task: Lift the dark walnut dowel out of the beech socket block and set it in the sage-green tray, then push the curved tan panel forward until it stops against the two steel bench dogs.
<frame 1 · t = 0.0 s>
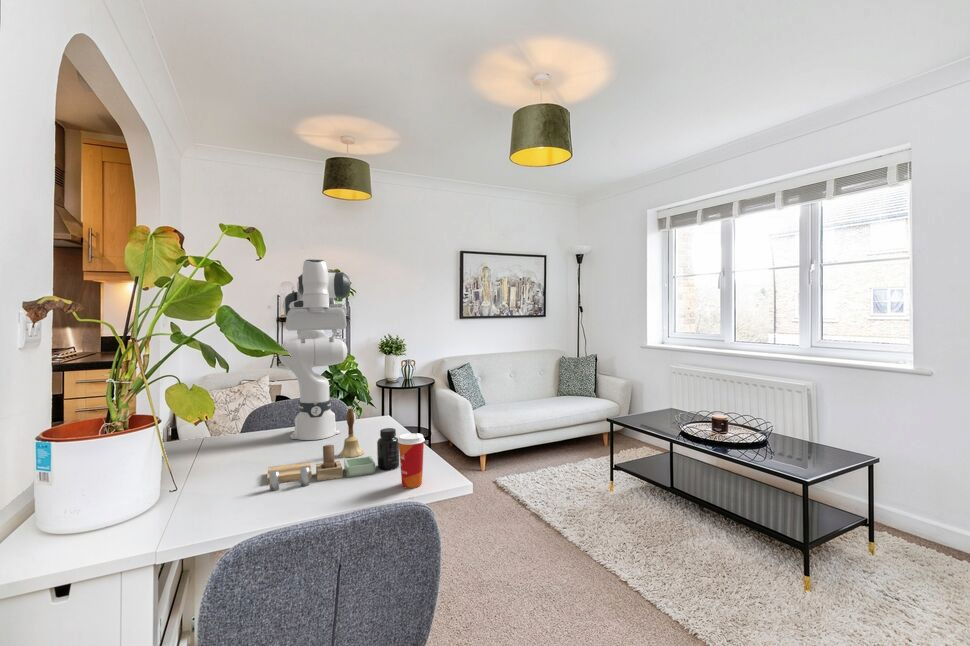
hand: (317, 342, 163), 39 cm above the table, tool pointing down, fingers open, 8 cm apart
tray: (359, 471, 144), on the table
dowel: (328, 460, 140), in the socket block
curved tan panel: (289, 477, 140), on the table
hand bell: (351, 454, 161), on the table
bench dogs: (289, 487, 131), on the table
socket block: (329, 475, 140), on the table
supplement bottle: (388, 467, 147), on the table
paper cup: (411, 485, 132), on the table
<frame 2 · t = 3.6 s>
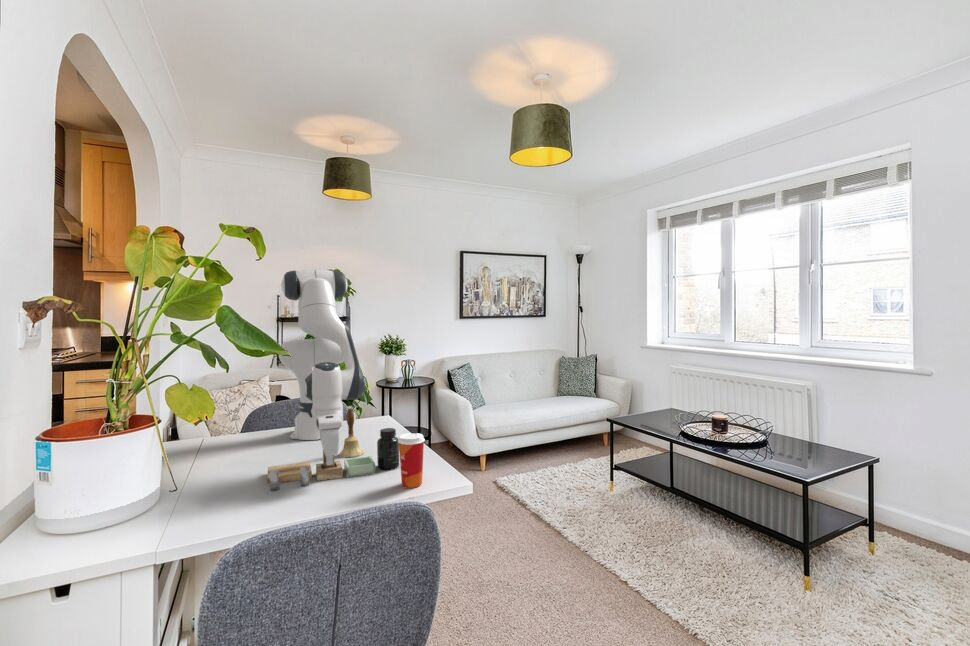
hand: (328, 462, 140), 4 cm above the table, tool pointing down, fingers closed on dowel, 3 cm apart
dowel: (328, 460, 140), in the socket block, touching gripper
everything else where it was.
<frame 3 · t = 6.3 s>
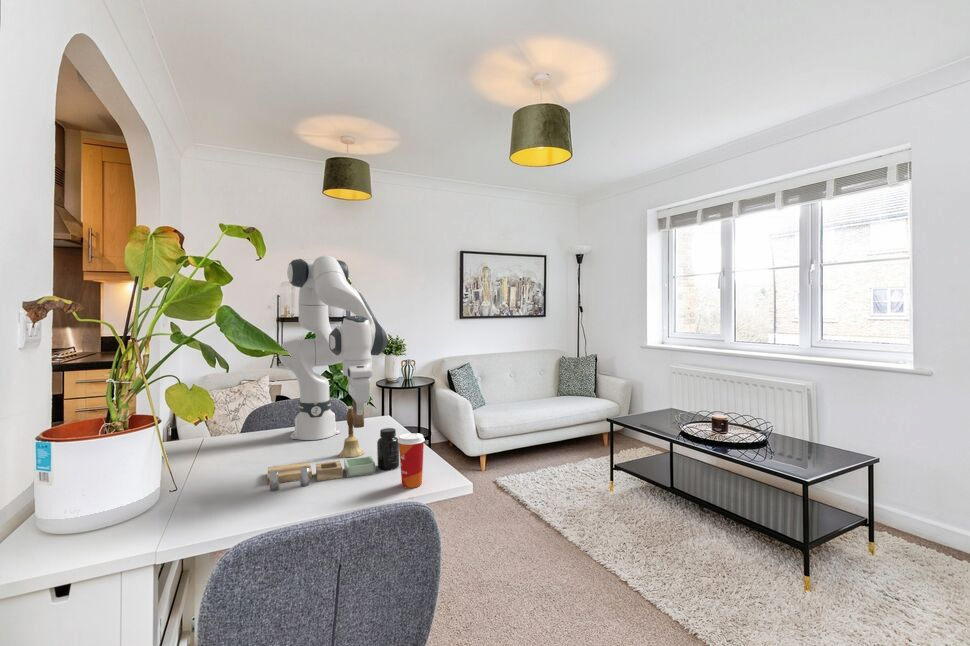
hand: (358, 413, 143), 18 cm above the table, tool pointing down, fingers closed on dowel, 3 cm apart
dowel: (358, 412, 143), point 18 cm above the table, touching gripper
everything else where it was.
when the fingers open (6 cm above the table, at t = 8.7 s): dowel stays where it is, resting on tray.
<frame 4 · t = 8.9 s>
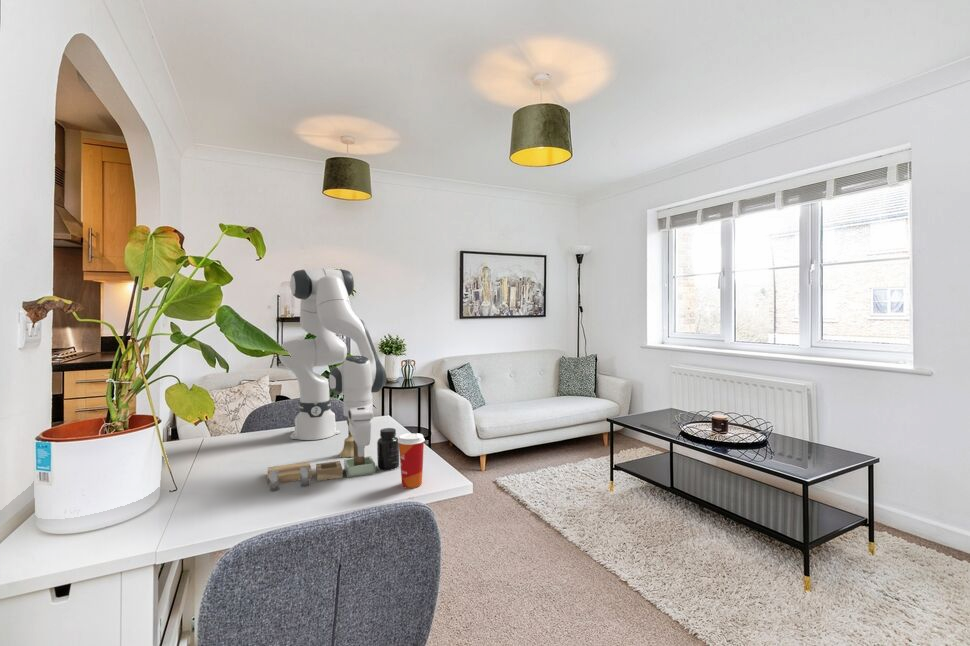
hand: (359, 453, 143), 6 cm above the table, tool pointing down, fingers open, 5 cm apart
dowel: (359, 454, 144), in the tray, point 5 cm above the table
everything else where it was.
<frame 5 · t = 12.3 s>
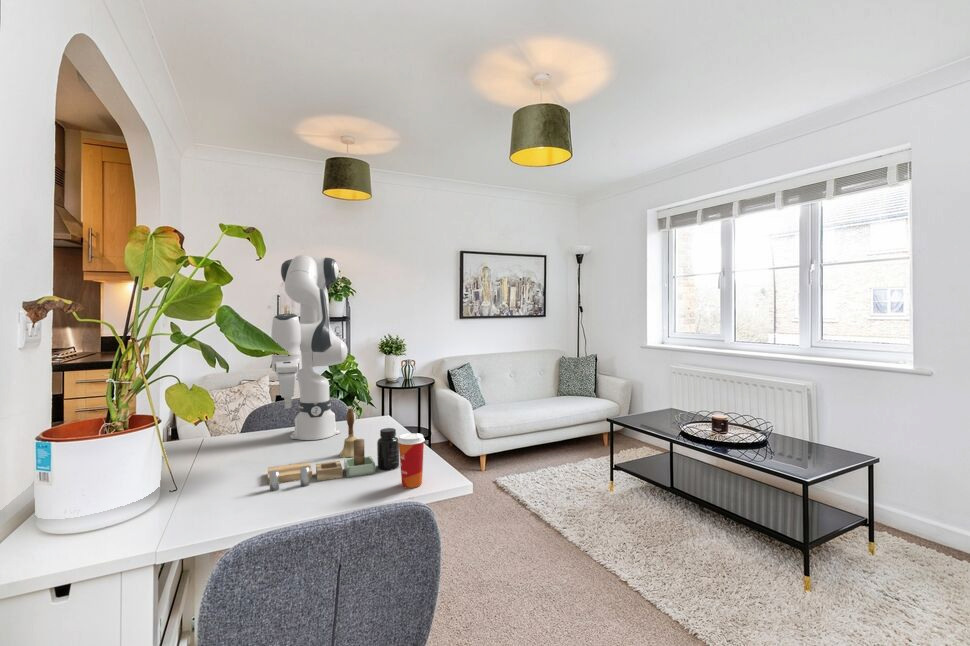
hand: (288, 407, 149), 19 cm above the table, tool pointing down, fingers closed
nothing on the table moved.
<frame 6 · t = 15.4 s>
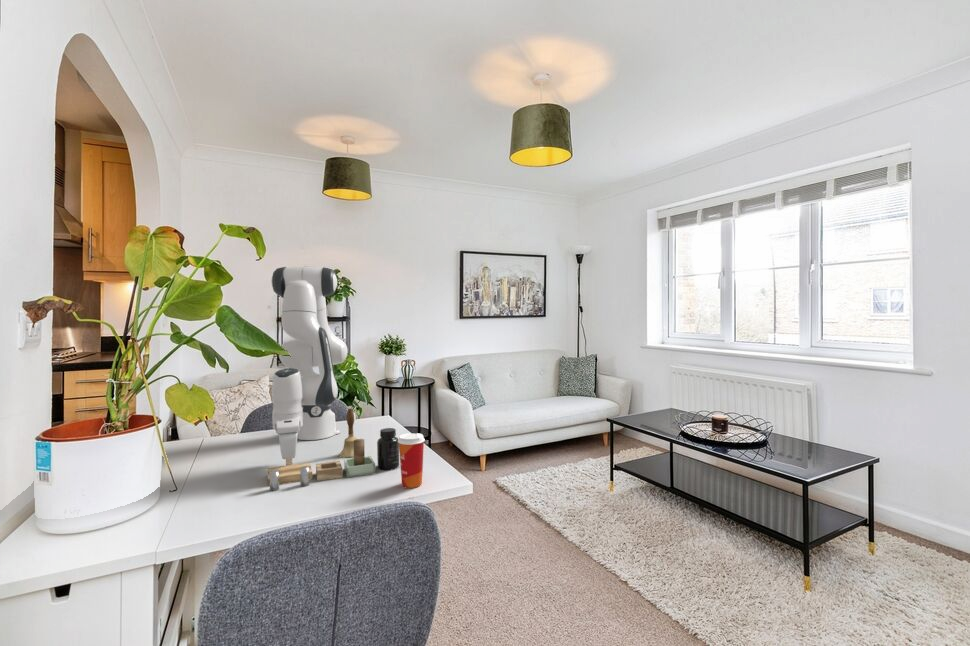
hand: (289, 464, 145), 2 cm above the table, tool pointing down, fingers closed
curved tan panel: (289, 478, 139), on the table
everything else where it was.
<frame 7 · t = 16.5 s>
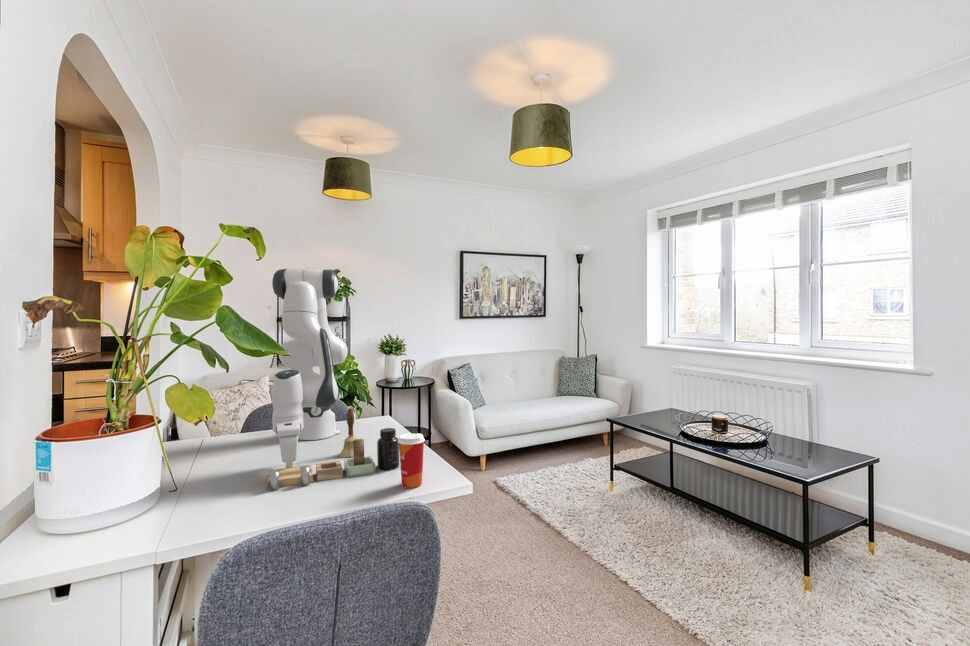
hand: (289, 468, 143), 2 cm above the table, tool pointing down, fingers closed
curved tan panel: (290, 481, 137), on the table, touching gripper
everything else where it was.
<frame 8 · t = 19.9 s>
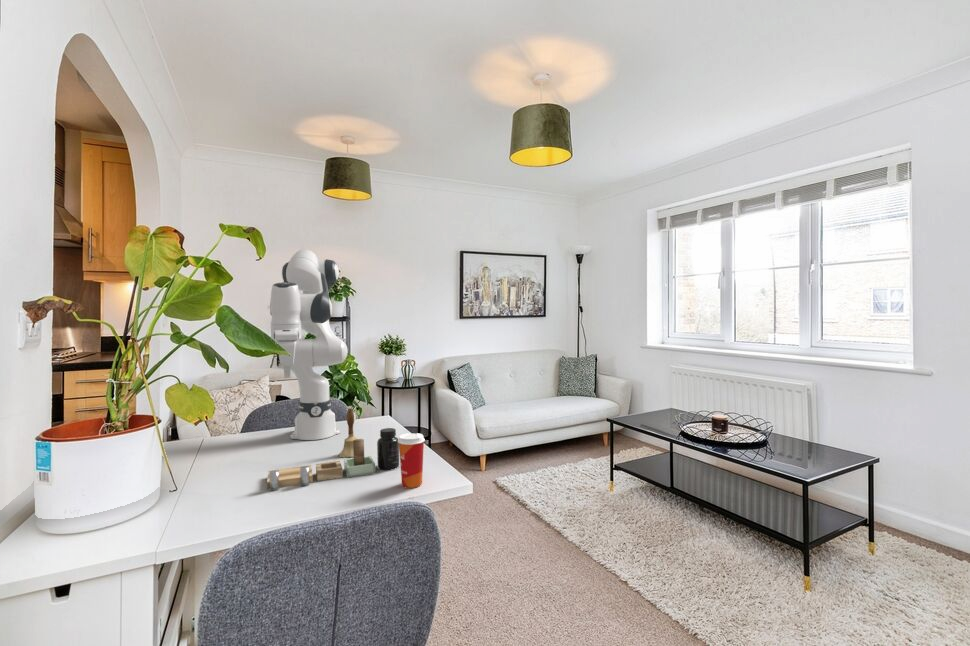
hand: (287, 377, 146), 29 cm above the table, tool pointing down, fingers closed
curved tan panel: (290, 481, 137), on the table
everything else where it was.
at the end: dowel inside the target area on the tray (0.3 cm from its centre), point 5.1 cm above the tray's base; the gripper is holding nothing; curved tan panel 0.2 cm from the target spot, on the table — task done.
